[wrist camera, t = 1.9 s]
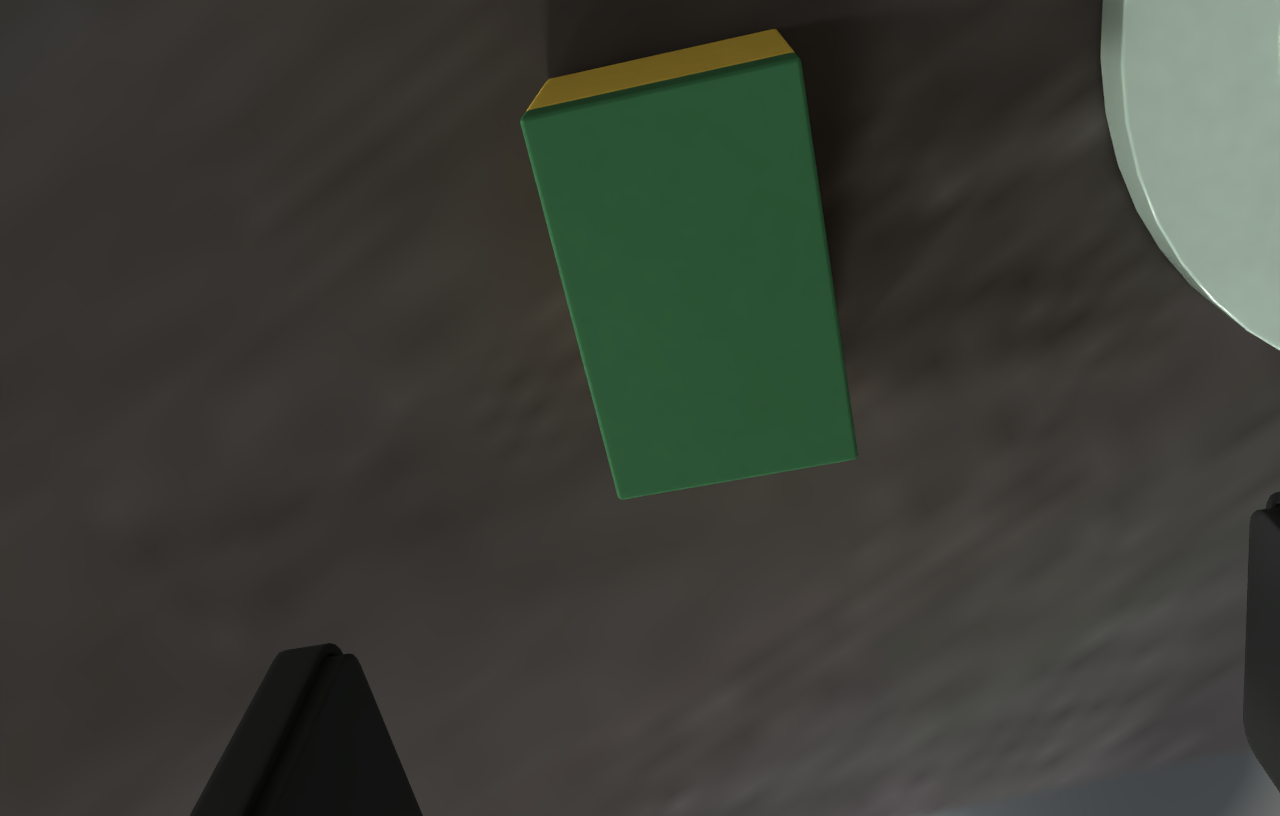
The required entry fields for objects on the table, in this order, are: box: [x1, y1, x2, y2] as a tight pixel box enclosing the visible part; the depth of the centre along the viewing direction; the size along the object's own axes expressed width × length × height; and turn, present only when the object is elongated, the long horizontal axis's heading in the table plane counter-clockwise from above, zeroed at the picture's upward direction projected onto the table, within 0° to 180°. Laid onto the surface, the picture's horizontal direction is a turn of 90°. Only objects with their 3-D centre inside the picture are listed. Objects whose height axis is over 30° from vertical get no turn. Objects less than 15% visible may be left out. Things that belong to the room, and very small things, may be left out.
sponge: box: [520, 29, 858, 500], centre depth 22 cm, size 8×5×4 cm, turn 12°
